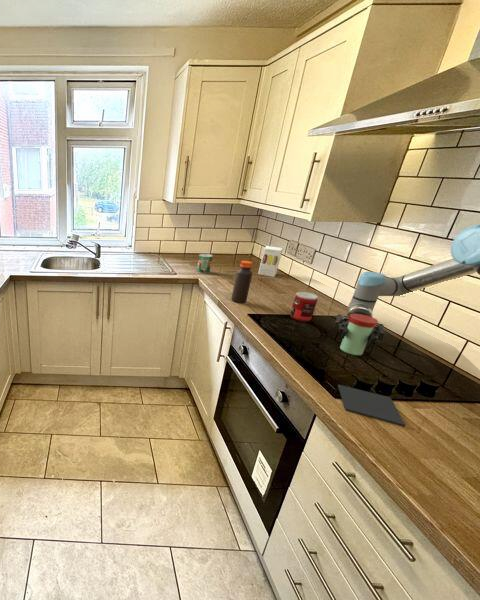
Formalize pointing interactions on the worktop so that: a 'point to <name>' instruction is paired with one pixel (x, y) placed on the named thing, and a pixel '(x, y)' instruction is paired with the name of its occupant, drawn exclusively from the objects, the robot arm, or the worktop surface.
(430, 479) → the worktop surface
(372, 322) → the lid
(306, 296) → the canned food
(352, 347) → the jar
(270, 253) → the supplement box
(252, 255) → the worktop surface
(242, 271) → the bottle
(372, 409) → the coaster
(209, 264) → the canned tomato
